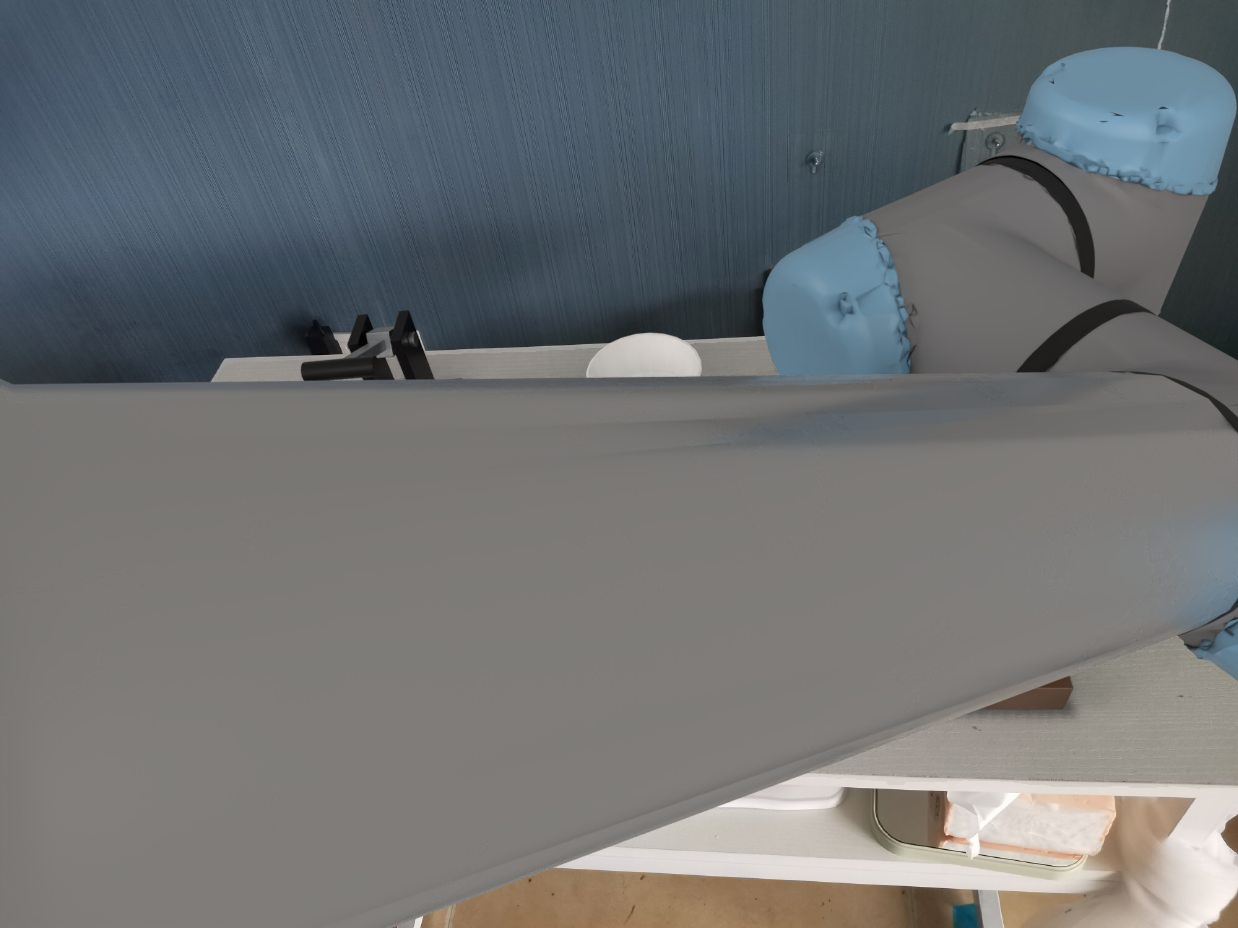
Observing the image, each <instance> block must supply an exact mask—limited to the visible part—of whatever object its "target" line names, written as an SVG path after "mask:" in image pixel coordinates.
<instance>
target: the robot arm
mask: <svg viewBox="0 0 1238 928" xmlns="http://www.w3.org/2000/svg"><path fill="white" fill-rule="evenodd" d="M1237 109H1238V107H1237V98H1236V93H1235V91H1234V89H1233V87H1232V85H1231V84H1230V82H1229V81H1228V80H1227V78H1226V77H1225V76H1224V75H1223V74H1222V73H1220V72H1219V71H1218V70H1216V68H1214V67H1211V66H1210V65H1209V64H1207V63H1205V62H1203V61H1201V60H1198V59H1195V58H1193V57H1189V56H1186V55H1183V54H1180V53H1177V52H1174V51H1171V50H1166V49H1161V48H1153V47H1141V46H1109V47H1099V48H1094V49H1089V50H1084V51H1080V52H1075V53H1073V54H1069V55H1067V56H1065V57H1062V58H1060V59H1058V60H1057V61H1054V62H1053V63H1051V64H1050V65H1048V66H1047V67H1046V68H1045V69H1043V70H1042V73H1041V74H1040V75H1039V76H1038V77H1037V79H1036V80H1035V81H1034V82H1033V83H1032V85H1031V86H1030V88H1029V90H1028V94H1027V97H1026V101H1025V105H1024V107H1023V111H1022V114H1020V115H1019V116H1018V120H1017V121H1015V125H1016V128H1015V132H1016V139H1015V142H1014V144H1013V145H1012V146H1011V147H1009V148H1007V149H1005V150H1003V151H1001V152H998V153H996V154H994V155H991V156H989V157H987V158H985V159H983V160H982V161H980V162H979V163H977V164H976V165H975V166H973V167H971V168H968V169H966V170H964V171H962V172H959V173H957V174H955V175H953V176H950V177H948V178H946V179H944V180H941V181H939V182H937V183H934V184H932V185H930V186H928V187H925V188H923V189H921V190H918V191H916V192H914V193H911V194H909V195H907V196H904V197H902V198H900V199H897V200H895V201H893V202H890V203H888V204H885V205H883V206H881V207H879V208H877V209H874V210H872V211H870V212H866V213H865V214H861V215H859V216H858V215H853V216H851V217H847V218H846V219H845V220H844V221H842V223H841V224H840V225H839V226H837V227H835V228H833V229H832V230H829V231H827V232H826V233H824V234H822V235H819V236H818V237H815V238H813V239H811V240H810V241H808V242H805V243H804V244H803V245H802V246H801V247H799V248H797V249H794V250H793V251H790V252H789V253H788V254H786V255H785V256H784V257H782V258H781V259H780V260H779V261H778V262H777V263H776V264H775V265H774V267H772V270H771V272H770V273H769V275H768V277H767V279H766V282H765V285H764V288H763V293H762V298H761V299H762V309H763V318H762V329H763V335H764V338H765V343H766V346H767V349H768V353H769V356H770V358H771V361H772V364H773V366H774V368H775V370H776V372H777V375H776V374H775V375H773V374H772V375H705V376H704V375H702V376H686V377H600V378H586V377H541V378H540V377H528V378H527V377H526V378H525V377H524V378H522V377H521V378H519V377H518V378H462V379H460V378H446V379H444V378H443V379H442V378H441V379H440V378H439V379H438V378H436V379H435V378H434V379H428V380H406V379H395V380H363V379H362V380H361V379H342V380H331V381H304V380H273V381H272V380H271V381H270V380H268V381H266V380H263V381H190V382H189V381H185V382H183V381H181V382H178V381H177V382H101V383H100V382H98V383H97V382H96V383H95V382H94V383H93V382H92V383H91V382H90V383H89V382H88V383H15V384H14V383H12V382H9V381H6V380H4V379H2V378H0V928H396V927H397V926H400V925H404V924H406V923H408V922H409V923H410V922H412V921H414V920H417V919H419V918H422V917H425V916H428V915H430V914H433V913H436V912H439V911H441V910H444V909H446V908H449V907H451V906H454V905H458V904H459V903H463V902H465V901H468V900H471V899H473V898H476V897H479V896H481V895H484V894H487V893H490V892H492V891H495V890H497V889H500V888H502V887H505V886H508V885H511V884H514V883H516V882H519V881H522V880H524V879H527V878H529V877H532V876H535V875H538V874H542V873H543V872H545V871H548V870H551V869H554V868H557V867H560V866H562V865H564V864H567V863H569V862H572V861H575V860H579V859H581V858H584V857H586V856H588V855H591V854H594V853H597V852H600V851H602V850H605V849H608V848H610V847H613V846H617V845H618V844H621V843H623V842H624V843H625V842H626V841H629V840H632V839H633V838H635V839H636V838H637V837H640V836H643V835H645V834H648V833H651V832H653V831H656V830H659V829H662V828H664V827H667V826H669V825H672V824H675V823H677V822H680V821H683V820H687V819H689V818H690V817H693V816H696V815H699V814H702V813H704V812H708V811H710V810H713V809H715V808H718V807H721V806H723V805H726V804H729V803H732V802H734V801H737V800H739V799H742V798H745V797H747V796H750V795H752V794H755V793H758V792H761V791H764V790H766V789H768V788H772V787H774V786H777V785H779V784H782V783H785V782H788V781H790V780H793V779H795V778H798V777H801V776H803V775H806V774H809V773H812V772H814V771H817V770H820V769H822V768H825V767H828V766H830V765H833V764H837V763H838V762H840V761H841V762H842V761H843V760H847V759H849V758H853V757H855V756H857V755H861V754H863V753H866V752H868V751H871V750H874V749H877V748H879V747H882V746H884V745H887V744H889V743H892V742H895V741H898V740H900V739H904V738H906V737H908V736H911V735H913V734H916V733H919V732H921V731H925V730H927V729H930V728H933V727H936V726H938V725H940V724H943V723H946V722H949V721H951V720H954V719H957V718H959V717H962V716H965V715H968V714H970V713H973V712H975V711H976V712H977V711H978V710H982V709H981V708H984V707H987V706H989V705H992V704H995V703H997V702H1000V701H1003V700H1005V699H1008V698H1011V697H1013V696H1016V695H1019V694H1021V693H1024V692H1027V691H1030V690H1032V689H1035V688H1038V687H1040V686H1043V685H1046V684H1048V683H1051V682H1054V681H1056V680H1059V679H1062V678H1064V677H1067V676H1070V677H1071V676H1072V675H1075V674H1078V673H1080V672H1083V671H1086V670H1088V669H1091V668H1094V667H1097V666H1100V665H1102V664H1104V663H1107V662H1110V661H1113V660H1116V659H1118V658H1121V657H1123V656H1126V655H1129V654H1131V653H1135V652H1138V651H1140V650H1143V649H1145V648H1148V647H1150V646H1153V645H1155V644H1158V643H1161V642H1163V641H1166V640H1169V639H1172V638H1175V637H1178V638H1180V639H1181V640H1182V641H1183V646H1185V647H1186V648H1187V650H1189V651H1190V652H1191V653H1193V655H1194V656H1195V657H1196V658H1197V659H1198V660H1204V661H1207V662H1211V663H1212V664H1214V665H1215V666H1216V667H1218V668H1219V669H1220V670H1222V671H1223V672H1225V673H1226V674H1228V675H1229V676H1230V677H1231V678H1233V679H1235V680H1236V681H1237V682H1238V359H1236V358H1234V357H1232V356H1231V355H1228V354H1227V353H1225V352H1223V351H1221V350H1219V349H1218V348H1216V347H1214V346H1213V345H1210V344H1209V343H1207V342H1205V341H1203V340H1202V339H1199V338H1198V337H1197V336H1195V335H1192V334H1190V333H1189V332H1187V331H1185V330H1183V329H1182V328H1180V327H1178V326H1177V325H1174V324H1172V323H1171V322H1169V321H1167V320H1165V319H1164V318H1162V317H1160V314H1161V313H1162V308H1163V305H1164V303H1165V300H1166V298H1167V295H1168V293H1169V290H1170V289H1171V286H1172V285H1173V281H1174V279H1175V277H1176V274H1177V272H1178V269H1179V267H1180V266H1181V262H1182V260H1183V257H1184V255H1185V253H1186V251H1187V248H1188V246H1189V244H1190V241H1191V239H1192V237H1193V234H1194V232H1195V229H1196V227H1197V224H1198V222H1199V220H1200V218H1201V215H1202V213H1203V210H1204V208H1205V206H1206V204H1207V201H1208V199H1209V196H1210V195H1212V193H1213V192H1215V191H1216V188H1217V186H1218V182H1219V178H1218V177H1219V176H1218V175H1219V172H1220V169H1221V166H1222V162H1223V159H1224V155H1225V153H1226V149H1227V146H1228V143H1229V139H1230V136H1231V132H1232V130H1233V127H1234V122H1235V120H1236V115H1237Z"/></svg>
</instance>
